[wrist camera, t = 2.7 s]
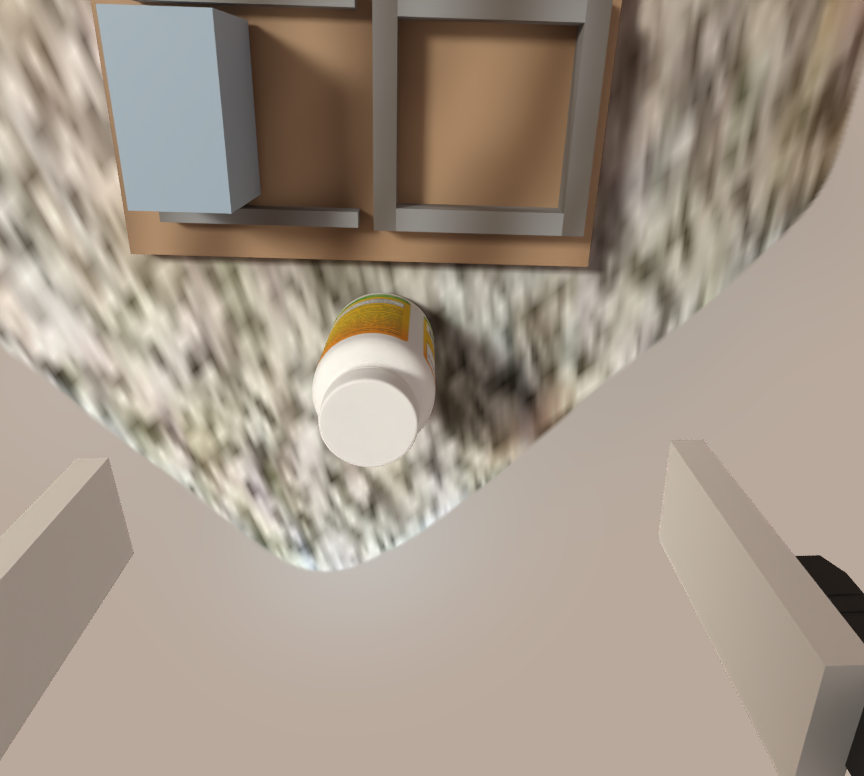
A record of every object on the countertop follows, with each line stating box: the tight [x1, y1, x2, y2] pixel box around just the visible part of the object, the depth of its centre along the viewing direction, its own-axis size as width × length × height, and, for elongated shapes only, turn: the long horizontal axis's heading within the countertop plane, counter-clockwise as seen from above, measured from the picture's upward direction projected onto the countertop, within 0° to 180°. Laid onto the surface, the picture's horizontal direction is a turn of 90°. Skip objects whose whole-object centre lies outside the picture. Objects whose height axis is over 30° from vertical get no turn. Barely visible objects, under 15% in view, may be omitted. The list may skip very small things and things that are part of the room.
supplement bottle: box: [312, 293, 435, 467], centre depth 31 cm, size 5×5×10 cm
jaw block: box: [96, 4, 261, 214], centre depth 27 cm, size 4×7×5 cm, turn 178°
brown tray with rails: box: [91, 0, 622, 267], centre depth 29 cm, size 22×13×3 cm, turn 88°
